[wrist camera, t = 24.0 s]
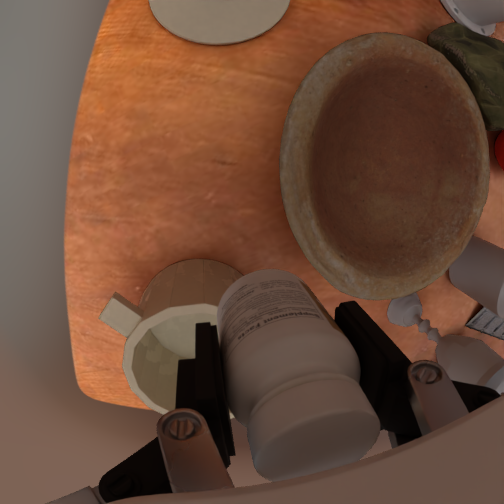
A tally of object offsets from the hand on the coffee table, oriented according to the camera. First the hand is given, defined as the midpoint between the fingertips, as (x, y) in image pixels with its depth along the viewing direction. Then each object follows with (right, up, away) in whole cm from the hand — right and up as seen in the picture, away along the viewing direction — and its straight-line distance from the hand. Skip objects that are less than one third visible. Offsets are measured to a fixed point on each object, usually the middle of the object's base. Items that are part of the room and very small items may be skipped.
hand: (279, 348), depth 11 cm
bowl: (+11, +13, +19) cm, 25 cm away
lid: (-4, +29, +10) cm, 31 cm away
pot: (-6, -3, +21) cm, 22 cm away
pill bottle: (0, +1, +3) cm, 3 cm away
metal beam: (+48, -9, +29) cm, 57 cm away
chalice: (+18, -3, +25) cm, 31 cm away
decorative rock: (+26, +26, +8) cm, 37 cm away
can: (+28, +2, +25) cm, 37 cm away
